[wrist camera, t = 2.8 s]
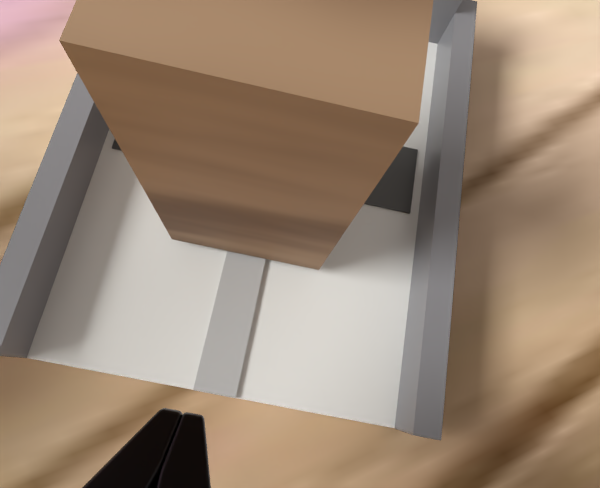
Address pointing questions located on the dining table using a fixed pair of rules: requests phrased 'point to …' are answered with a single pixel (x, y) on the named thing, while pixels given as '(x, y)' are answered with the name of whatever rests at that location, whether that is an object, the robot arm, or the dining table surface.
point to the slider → (255, 110)
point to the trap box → (251, 274)
